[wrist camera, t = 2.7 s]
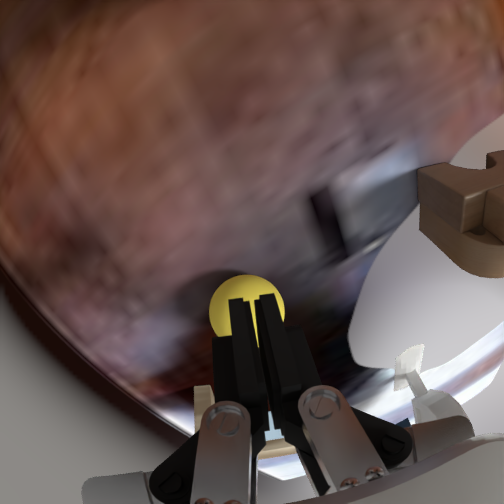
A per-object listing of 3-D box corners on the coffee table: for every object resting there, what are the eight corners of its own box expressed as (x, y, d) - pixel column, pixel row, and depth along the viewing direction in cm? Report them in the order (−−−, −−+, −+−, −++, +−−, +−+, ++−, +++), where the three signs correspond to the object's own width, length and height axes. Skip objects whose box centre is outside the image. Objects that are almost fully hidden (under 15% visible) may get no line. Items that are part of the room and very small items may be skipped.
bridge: (194, 386, 33) (195, 457, 25) (314, 369, 34) (336, 436, 26) (199, 398, 35) (202, 464, 27) (312, 381, 36) (332, 444, 28)
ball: (203, 265, 24) (202, 315, 19) (275, 255, 25) (292, 303, 20) (214, 317, 27) (217, 368, 22) (277, 308, 28) (291, 357, 23)
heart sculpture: (395, 351, 35) (450, 460, 20) (425, 335, 35) (485, 437, 20) (393, 395, 44) (429, 478, 28) (417, 383, 43) (455, 462, 28)
